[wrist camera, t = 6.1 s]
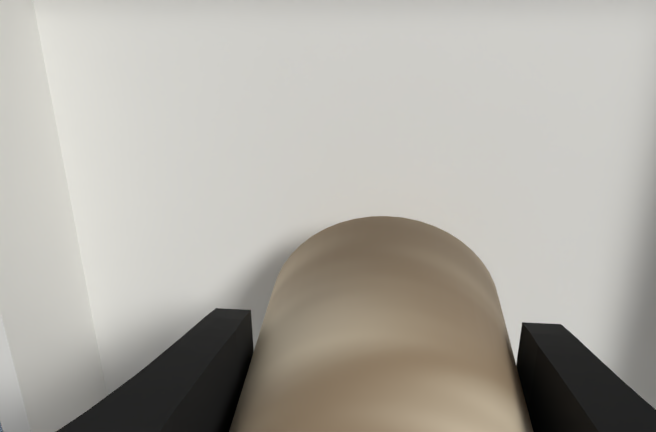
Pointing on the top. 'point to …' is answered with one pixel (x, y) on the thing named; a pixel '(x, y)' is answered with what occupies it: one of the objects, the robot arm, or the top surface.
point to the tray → (311, 168)
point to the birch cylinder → (383, 338)
